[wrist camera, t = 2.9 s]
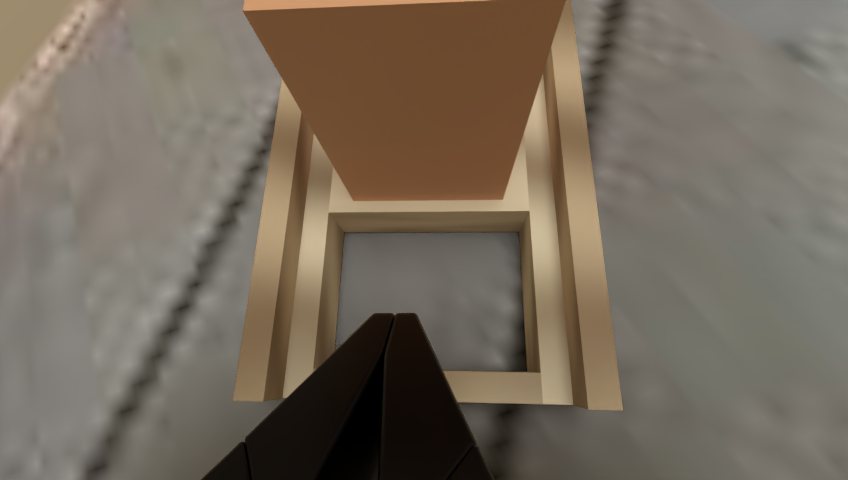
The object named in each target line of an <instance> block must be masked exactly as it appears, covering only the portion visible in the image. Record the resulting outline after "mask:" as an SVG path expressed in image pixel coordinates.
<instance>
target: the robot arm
mask: <svg viewBox="0 0 848 480" xmlns="http://www.w3.org/2000/svg"><path fill="white" fill-rule="evenodd" d="M201 480H494V478H493V476H492V474H491V472H490V470H489V468H488V466H487V464H486V462H485V459H484V457H483V455H482V453H481V451H480V449H479V447H477V444H476V441H475V439H474V436H473V434H472V432H471V430H470V428H469V426H468V424H467V421H466V419H465V417H464V415H463V413H462V411H461V409H460V406H459V404H458V402H457V400H456V398H455V396H454V393H453V391H452V389H451V387H450V385H449V383H448V381H447V378H446V376H445V374H444V372H443V370H442V368H441V366H440V363H439V361H438V359H437V357H436V355H435V353H434V350H433V348H432V346H431V344H430V342H429V340H428V338H427V335H426V333H425V331H424V329H423V327H422V325H421V322H420V320H419V318H418V316H417V315H416V314H415V313H398V314H396V315H394V314H393V313H375V314H373V315H372V316H371V317H370V318H368V319H367V320H366V321H365V322H364V323H363V324H362V325H361V326H360V327H359V328H358V329H357V330H356V331H355V332H354V333H353V334H352V335H351V336H350V337H349V338H348V339H347V340H346V341H345V342H344V343H343V344H342V345H341V346H340V347H338V348H337V349H336V350H335V351H334V352H333V353H332V354H331V355H330V356H329V357H328V358H327V359H326V360H325V361H324V362H323V363H322V364H321V365H320V366H319V367H318V368H317V369H316V370H315V371H314V372H313V373H312V374H311V375H310V376H309V377H307V378H306V379H305V380H304V381H303V382H302V383H301V384H300V385H299V386H298V387H297V388H296V389H295V390H294V391H293V392H292V393H291V394H290V395H289V396H288V397H287V398H286V399H285V400H284V401H283V402H282V403H281V404H280V405H279V406H277V407H276V408H275V409H274V410H273V411H272V412H271V413H270V414H269V415H268V416H267V417H266V418H265V419H264V420H263V421H262V422H261V423H260V424H259V425H258V426H257V427H256V428H255V429H254V430H253V431H252V432H251V433H250V434H249V435H248V436H246V438H245V442H240V443H239V444H238V445H237V446H236V447H235V448H234V449H233V450H232V451H231V452H230V453H229V454H228V455H227V456H226V457H224V458H223V459H222V460H221V461H220V462H219V463H218V464H217V465H216V466H215V467H214V468H213V469H212V470H211V471H210V472H208V473H207V474H206V475H205V476H204V477H203V478H202V479H201Z"/></svg>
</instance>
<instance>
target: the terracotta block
mask: <svg viewBox="0 0 848 480" xmlns="http://www.w3.org/2000/svg"><path fill="white" fill-rule="evenodd" d="M565 2H566V0H245V2H244V7H243V12H244V14H245V16H246V17H247V19H248V21H249V22H250V24H251V26H252V28H253V29H254V31H255V33H256V34H257V36H258V38H259V40H260V41H261V43H262V45H263V46H264V48H265V50H266V52H267V53H268V55H269V57H270V58H271V60H272V62H273V64H274V65H275V67H276V69H277V71H278V72H279V74H280V76H281V77H282V79H283V81H284V83H285V84H286V86H287V88H288V89H289V91H290V93H291V95H292V96H293V98H294V100H295V101H296V103H297V105H298V107H299V108H300V110H301V112H302V113H303V115H304V117H305V119H306V120H307V122H308V124H309V126H310V127H311V129H312V131H313V132H314V134H315V136H316V138H317V139H318V141H319V143H320V144H321V146H322V148H323V150H324V151H325V153H326V155H327V156H328V158H329V160H330V162H331V163H332V165H333V167H334V168H335V170H336V172H337V174H338V175H339V177H340V179H341V180H342V182H343V184H344V186H345V187H346V189H347V191H348V193H349V194H350V196H351V198H352V199H353V201H430V200H503V198H504V195H505V191H506V188H507V185H508V182H509V179H510V176H511V172H512V169H513V166H514V163H515V160H516V157H517V153H518V150H519V147H520V144H521V141H522V138H523V134H524V131H525V128H526V125H527V122H528V119H529V115H530V112H531V109H532V106H533V103H534V100H535V96H536V93H537V90H538V87H539V84H540V81H541V77H542V74H543V71H544V68H545V65H546V62H547V58H548V55H549V52H550V49H551V46H552V43H553V39H554V36H555V33H556V30H557V27H558V24H559V21H560V17H561V14H562V11H563V8H564V5H565Z"/></svg>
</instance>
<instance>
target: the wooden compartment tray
mask: <svg viewBox="0 0 848 480" xmlns="http://www.w3.org/2000/svg"><path fill="white" fill-rule="evenodd" d="M344 232H519V242H520V258H521V275H522V292H523V309H524V325H525V342H526V359H527V372H503V371H449V370H443V372H444V374H445V376H446V378H447V381H448V383H449V385H450V387H451V389H452V391H453V393H454V396H455V398H456V400H457V402H473V403H515V404H557V405H575V406H579V407H582V408H585V409H589V410H623V407H622V400H621V392H620V384H619V376H618V368H617V360H616V352H615V344H614V336H613V329H612V321H611V313H610V305H609V297H608V289H607V281H606V273H605V265H604V258H603V250H602V242H601V234H600V226H599V218H598V210H597V202H596V194H595V187H594V179H593V171H592V163H591V155H590V147H589V139H588V131H587V123H586V115H585V108H584V100H583V92H582V84H581V76H580V68H579V60H578V52H577V44H576V37H575V29H574V21H573V13H572V5H571V0H566V2H565V5H564V8H563V11H562V14H561V17H560V21H559V24H558V27H557V30H556V33H555V36H554V39H553V43H552V46H551V49H550V52H549V55H548V58H547V62H546V65H545V68H544V71H543V74H542V77H541V81H540V84H539V87H538V90H537V93H536V96H535V100H534V103H533V106H532V109H531V112H530V115H529V119H528V122H527V125H526V128H525V131H524V134H523V138H522V141H521V144H520V147H519V150H518V153H517V157H516V160H515V163H514V166H513V169H512V172H511V176H510V179H509V182H508V185H507V188H506V191H505V195H504V198H503V200H430V201H353V199H352V198H351V196H350V194H349V193H348V191H347V189H346V187H345V186H344V184H343V182H342V180H341V179H340V177H339V175H338V174H337V172H336V170H335V168H334V167H333V165H332V163H331V162H330V160H329V158H328V156H327V155H326V153H325V151H324V150H323V148H322V146H321V144H320V143H319V141H318V139H317V138H316V136H315V134H314V132H313V131H312V129H311V127H310V126H309V124H308V122H307V120H306V119H305V117H304V115H303V113H302V112H301V110H300V108H299V107H298V105H297V103H296V101H295V100H294V98H293V96H292V95H291V93H290V91H289V89H288V88H287V86H286V84H285V83H284V81H283V79H282V83H281V90H280V96H279V103H278V109H277V116H276V122H275V128H274V135H273V141H272V148H271V154H270V161H269V167H268V174H267V180H266V187H265V193H264V200H263V206H262V213H261V219H260V226H259V232H258V239H257V245H256V252H255V258H254V265H253V271H252V278H251V284H250V291H249V297H248V304H247V310H246V317H245V323H244V330H243V336H242V343H241V349H240V355H239V362H238V368H237V375H236V381H235V388H234V394H233V401H262V402H263V401H269V400H274V399H280V398H287V397H288V396H289V395H290V394H291V393H292V392H293V391H294V390H295V389H296V388H297V387H298V386H299V385H300V384H301V383H302V382H303V381H304V380H305V379H306V378H307V377H309V376H310V375H311V374H312V373H313V372H314V371H315V370H316V369H317V368H318V367H319V366H320V365H321V364H322V363H323V362H324V361H325V360H326V359H327V358H328V357H329V356H330V355H331V354H332V353H333V352H334V350H335V338H336V326H337V314H338V302H339V290H340V278H341V266H342V255H343V243H344Z"/></svg>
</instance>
